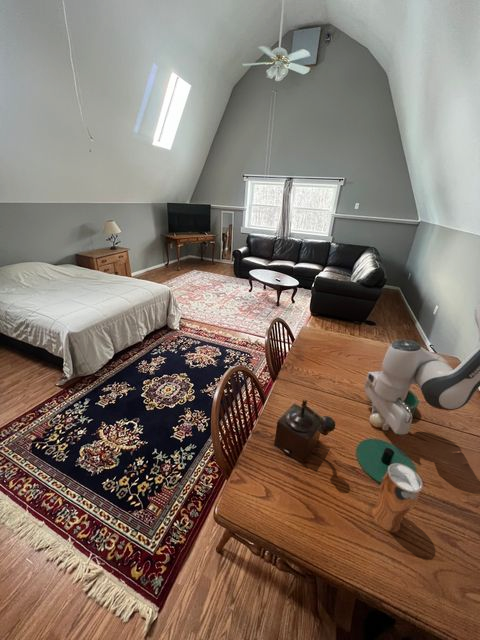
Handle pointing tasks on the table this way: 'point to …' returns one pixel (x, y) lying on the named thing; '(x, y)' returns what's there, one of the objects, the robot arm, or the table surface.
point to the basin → (410, 401)
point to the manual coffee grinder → (301, 431)
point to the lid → (380, 457)
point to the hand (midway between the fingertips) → (379, 421)
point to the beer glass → (396, 496)
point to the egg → (376, 419)
